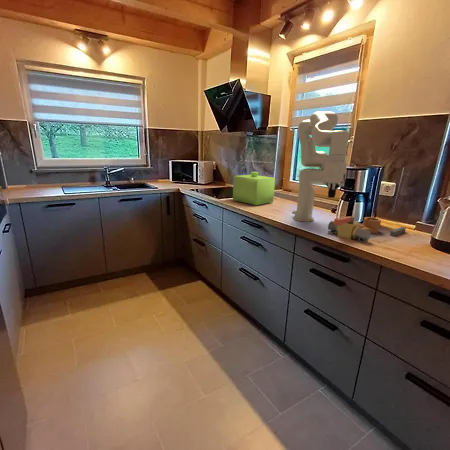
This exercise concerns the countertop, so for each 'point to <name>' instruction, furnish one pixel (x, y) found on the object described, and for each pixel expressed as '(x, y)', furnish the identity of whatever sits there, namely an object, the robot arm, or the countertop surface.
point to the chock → (397, 231)
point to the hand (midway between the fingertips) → (331, 197)
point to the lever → (343, 220)
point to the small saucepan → (371, 224)
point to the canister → (253, 189)
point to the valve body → (349, 231)
